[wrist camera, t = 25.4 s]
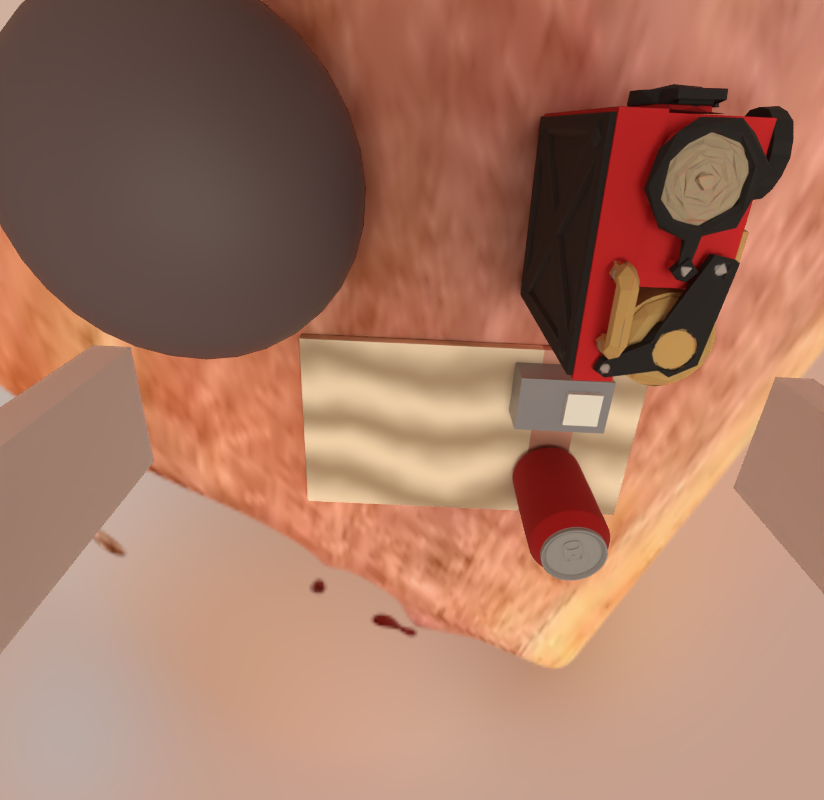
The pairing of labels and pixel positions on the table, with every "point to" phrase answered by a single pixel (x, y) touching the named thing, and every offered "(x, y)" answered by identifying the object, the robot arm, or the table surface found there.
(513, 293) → the table surface
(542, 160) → the red mechanical device
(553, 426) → the block
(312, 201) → the flattened ellipsoid
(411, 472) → the subfloor panel
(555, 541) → the beverage can
